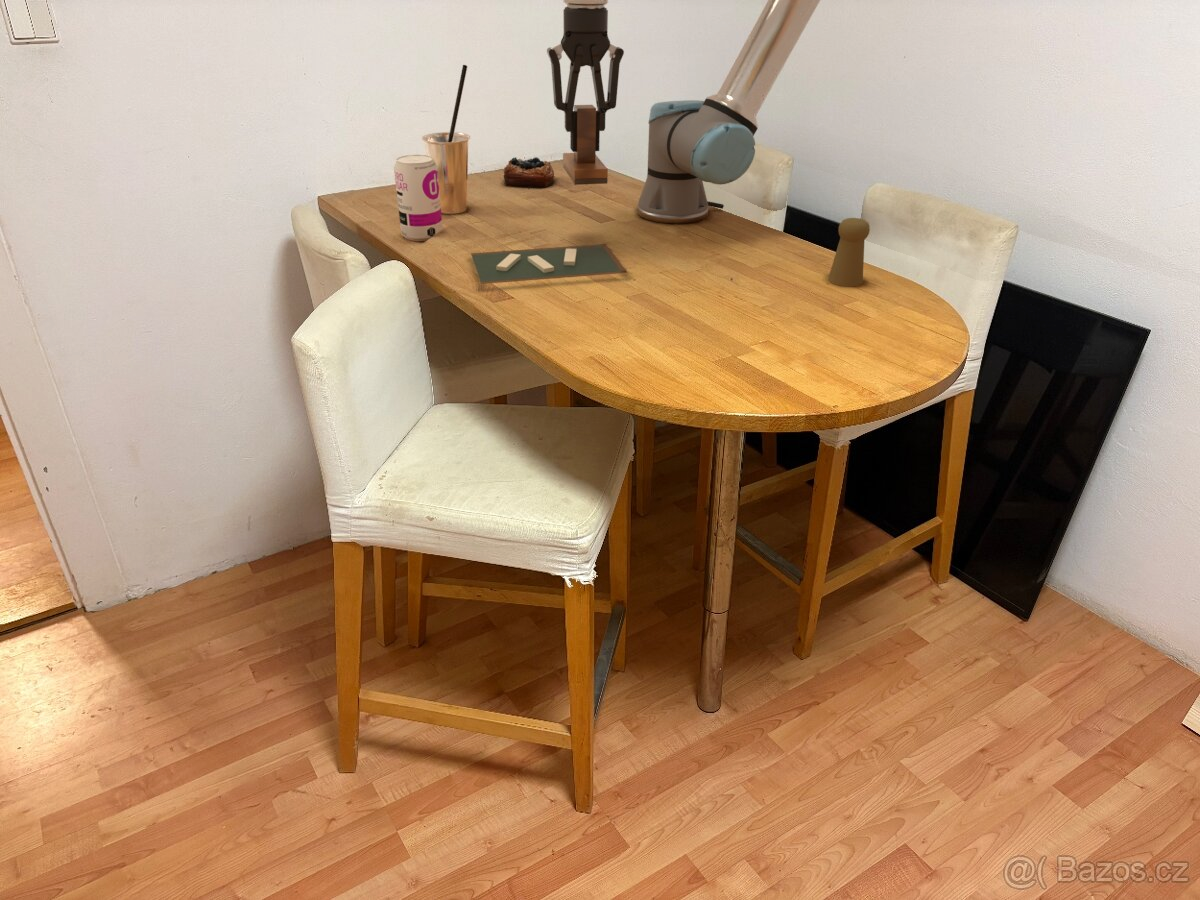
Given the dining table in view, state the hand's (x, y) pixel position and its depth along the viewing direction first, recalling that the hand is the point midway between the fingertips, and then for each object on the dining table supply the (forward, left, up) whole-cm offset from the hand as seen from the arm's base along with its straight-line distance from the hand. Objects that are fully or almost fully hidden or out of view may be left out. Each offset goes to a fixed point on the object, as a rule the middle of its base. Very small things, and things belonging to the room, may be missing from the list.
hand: (584, 149), depth 158 cm
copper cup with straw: (+22, -31, -19) cm, 42 cm away
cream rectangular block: (+16, +9, -17) cm, 25 cm away
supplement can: (+30, -15, -19) cm, 38 cm away
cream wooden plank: (+11, +11, -17) cm, 23 cm away
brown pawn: (-42, +26, -19) cm, 53 cm away
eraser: (0, 0, -5) cm, 5 cm away
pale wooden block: (+5, +8, -17) cm, 20 cm away
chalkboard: (+9, +9, -19) cm, 23 cm away
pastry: (+2, -51, -19) cm, 54 cm away
